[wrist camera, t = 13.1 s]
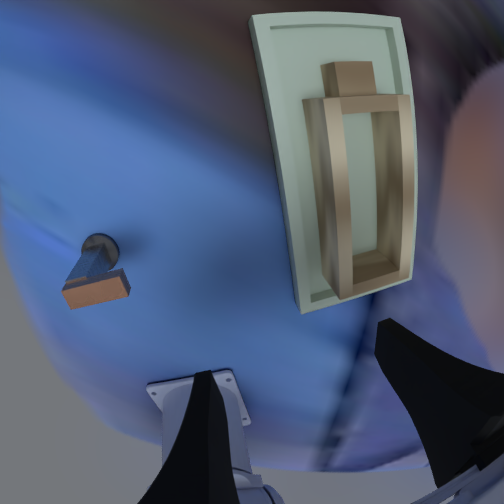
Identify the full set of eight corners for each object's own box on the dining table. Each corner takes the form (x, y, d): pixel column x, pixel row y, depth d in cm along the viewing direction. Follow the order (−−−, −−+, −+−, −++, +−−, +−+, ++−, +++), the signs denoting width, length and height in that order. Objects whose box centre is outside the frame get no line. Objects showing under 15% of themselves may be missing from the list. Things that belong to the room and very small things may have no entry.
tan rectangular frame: (386, 256, 22) (408, 277, 19) (322, 274, 22) (339, 300, 19) (375, 64, 15) (405, 60, 13) (296, 67, 15) (316, 60, 12)
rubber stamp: (146, 258, 19) (133, 307, 15) (92, 272, 19) (68, 321, 14) (133, 222, 18) (114, 263, 13) (77, 239, 18) (46, 282, 13)
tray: (401, 270, 24) (411, 279, 22) (295, 302, 23) (301, 314, 22) (387, 21, 15) (399, 17, 13) (247, 22, 14) (252, 15, 13)
